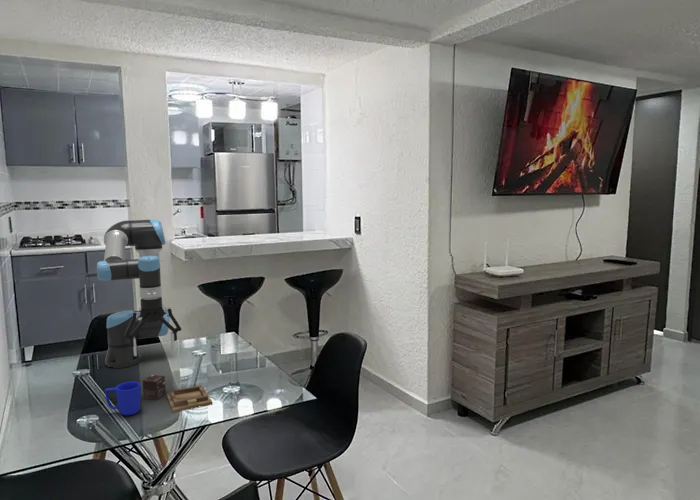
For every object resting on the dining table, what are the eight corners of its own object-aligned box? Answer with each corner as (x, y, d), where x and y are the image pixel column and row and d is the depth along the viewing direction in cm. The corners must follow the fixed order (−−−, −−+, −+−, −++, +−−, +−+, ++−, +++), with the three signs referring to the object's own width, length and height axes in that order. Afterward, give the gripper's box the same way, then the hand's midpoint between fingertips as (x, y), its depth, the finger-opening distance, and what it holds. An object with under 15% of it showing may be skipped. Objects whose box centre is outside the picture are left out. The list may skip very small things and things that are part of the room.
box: (157, 400, 195) (156, 381, 194) (143, 398, 196) (141, 380, 195) (166, 393, 201) (165, 375, 200) (152, 392, 202) (151, 374, 201)
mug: (111, 408, 188) (109, 382, 187) (145, 406, 189) (143, 380, 188) (102, 418, 180) (100, 391, 179) (138, 416, 181) (136, 389, 180)
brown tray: (166, 395, 199) (166, 389, 198) (203, 388, 205) (203, 382, 205) (172, 412, 185) (172, 405, 184) (212, 404, 191) (212, 397, 191)
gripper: (115, 303, 184) (119, 360, 187) (187, 295, 196) (190, 349, 199) (114, 299, 191) (117, 354, 194) (183, 292, 203) (186, 344, 205)
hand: (154, 352), depth 196 cm, fingers open, 13 cm apart
